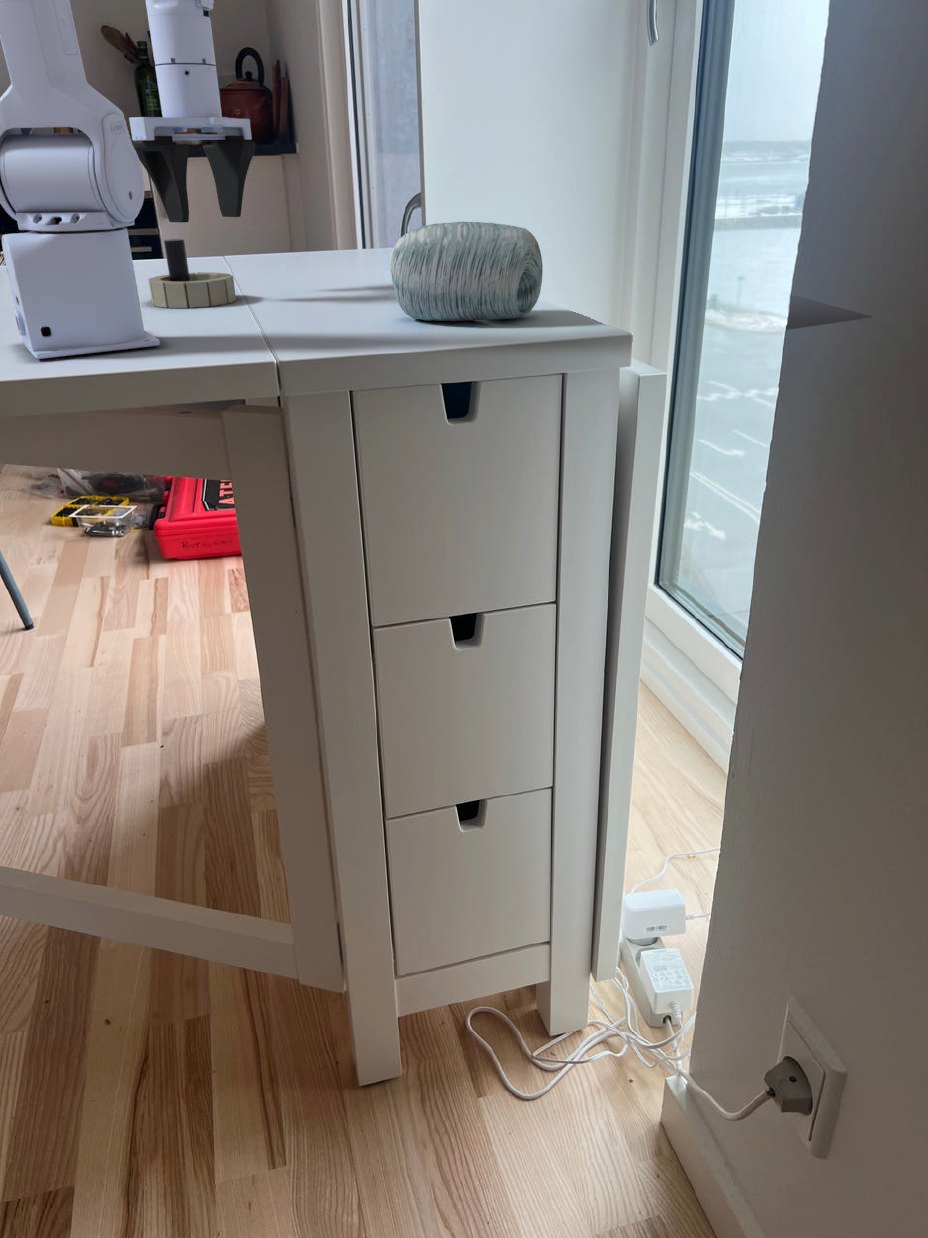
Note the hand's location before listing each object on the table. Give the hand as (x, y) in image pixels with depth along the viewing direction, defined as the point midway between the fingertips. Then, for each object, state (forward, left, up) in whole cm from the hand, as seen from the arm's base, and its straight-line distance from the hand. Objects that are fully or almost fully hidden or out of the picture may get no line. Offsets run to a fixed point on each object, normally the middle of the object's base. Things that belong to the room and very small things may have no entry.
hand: (206, 219), depth 95 cm
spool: (+15, -27, -8) cm, 32 cm away
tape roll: (-3, -1, -8) cm, 8 cm away
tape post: (-4, 0, -8) cm, 9 cm away
